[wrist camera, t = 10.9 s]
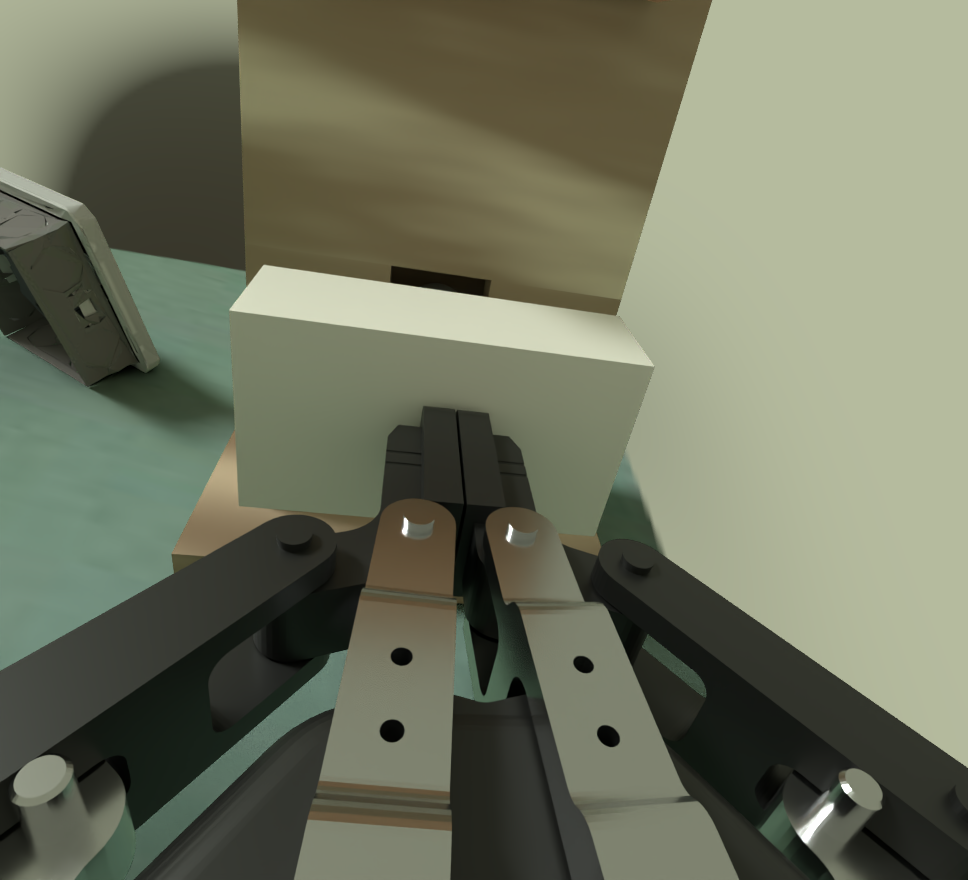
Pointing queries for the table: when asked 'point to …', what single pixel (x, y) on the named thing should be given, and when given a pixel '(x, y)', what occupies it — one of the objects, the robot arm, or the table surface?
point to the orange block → (658, 0)
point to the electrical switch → (65, 286)
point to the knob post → (450, 158)
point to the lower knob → (423, 389)
